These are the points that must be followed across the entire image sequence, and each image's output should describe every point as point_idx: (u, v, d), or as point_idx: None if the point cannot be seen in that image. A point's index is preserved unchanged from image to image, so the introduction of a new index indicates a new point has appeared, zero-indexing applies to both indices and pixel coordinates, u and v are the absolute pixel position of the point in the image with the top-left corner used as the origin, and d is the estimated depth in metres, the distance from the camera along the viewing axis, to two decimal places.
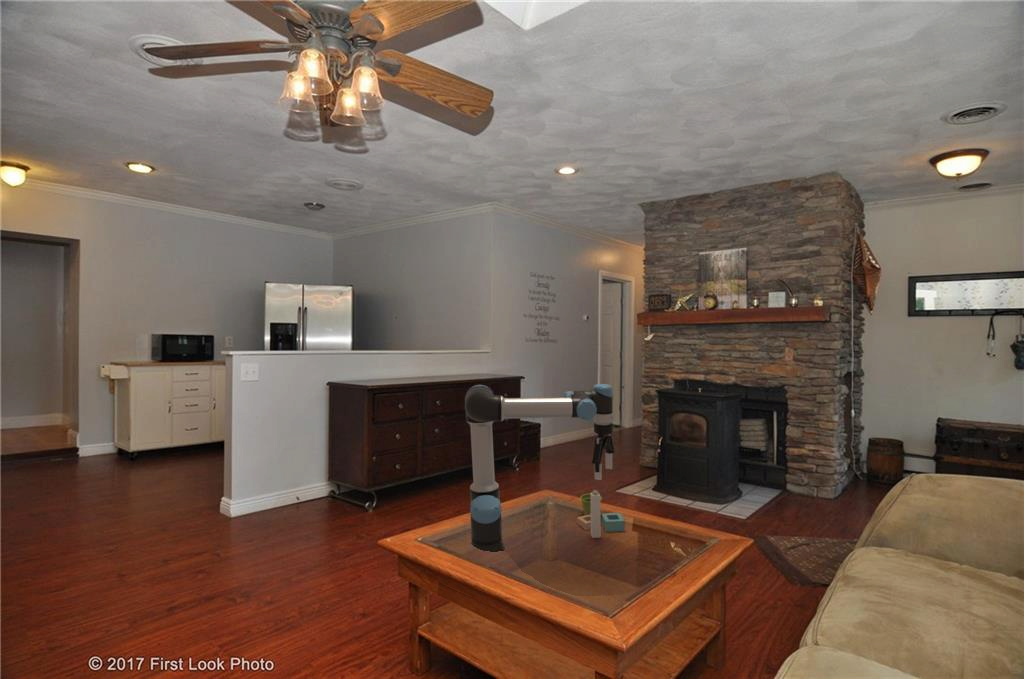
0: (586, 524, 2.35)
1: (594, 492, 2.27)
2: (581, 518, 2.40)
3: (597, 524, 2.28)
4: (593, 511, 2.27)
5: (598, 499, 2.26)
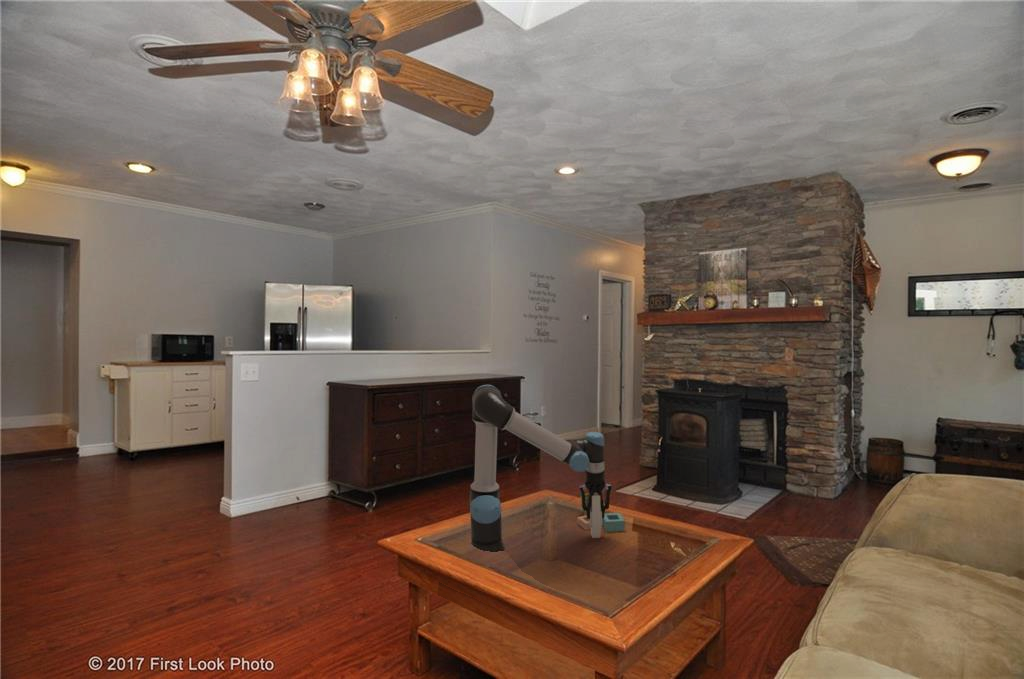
0: (586, 524, 2.35)
1: None
2: (581, 518, 2.40)
3: (597, 524, 2.28)
4: (593, 511, 2.27)
5: (598, 499, 2.26)
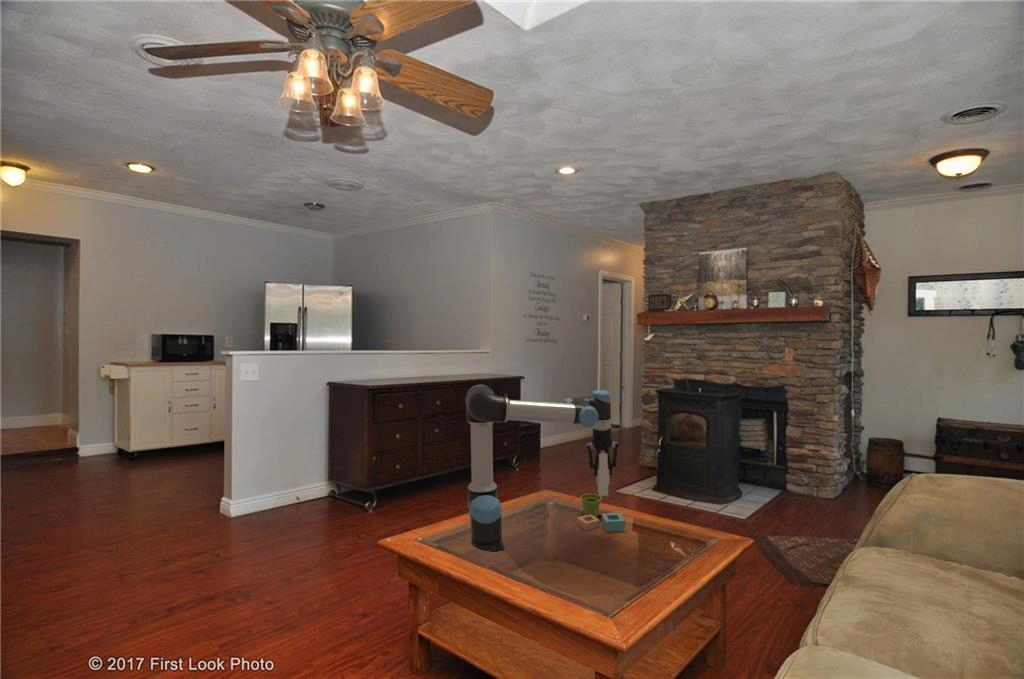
0: (586, 524, 2.35)
1: None
2: (581, 518, 2.40)
3: (604, 481, 2.28)
4: (600, 469, 2.28)
5: (605, 457, 2.27)
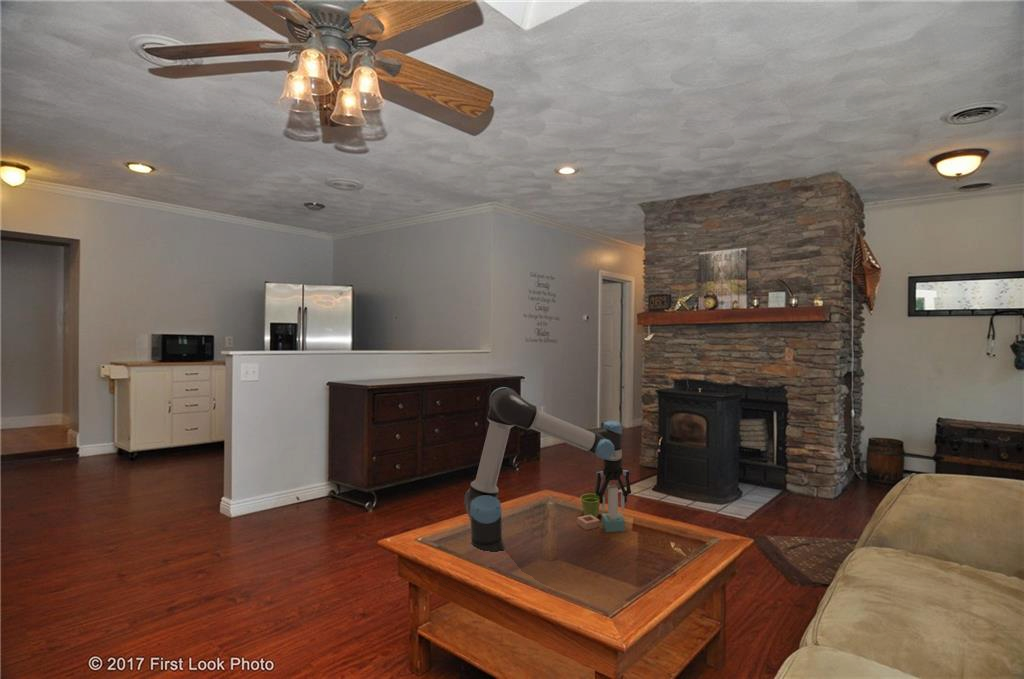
0: (586, 524, 2.35)
1: (612, 485, 2.34)
2: (581, 518, 2.40)
3: (615, 515, 2.35)
4: (611, 503, 2.34)
5: (616, 491, 2.34)
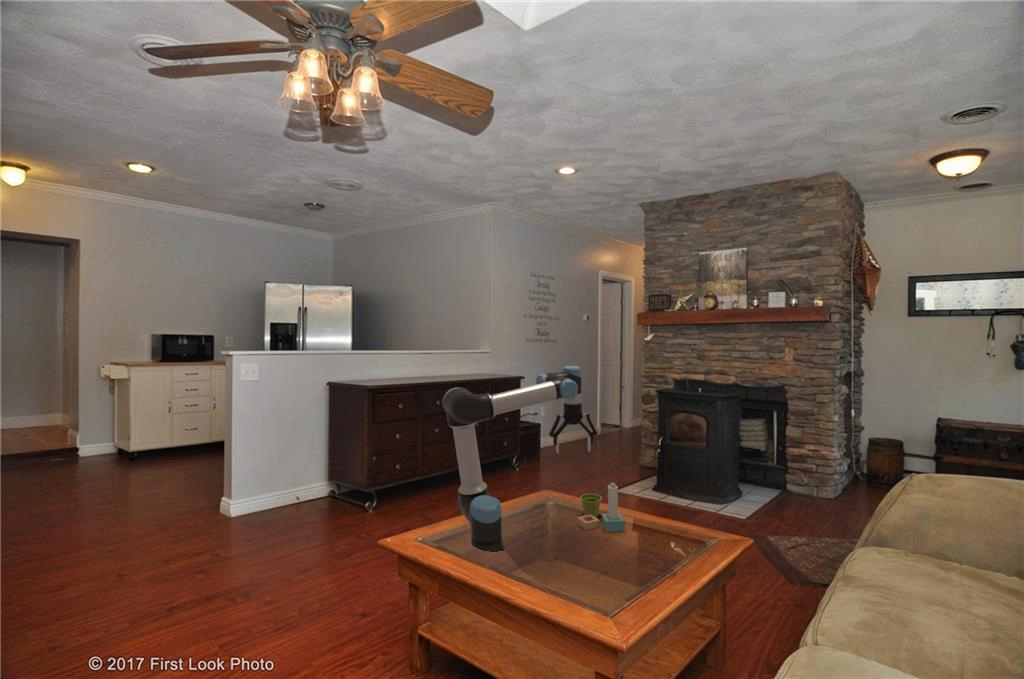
0: (586, 524, 2.35)
1: (612, 485, 2.34)
2: (581, 518, 2.40)
3: (615, 515, 2.35)
4: (611, 503, 2.34)
5: (616, 491, 2.34)
